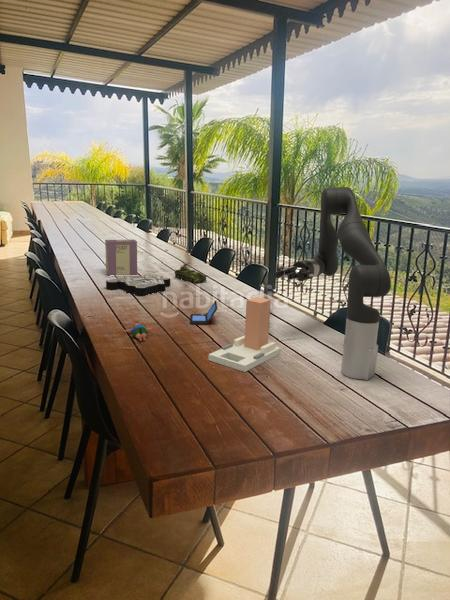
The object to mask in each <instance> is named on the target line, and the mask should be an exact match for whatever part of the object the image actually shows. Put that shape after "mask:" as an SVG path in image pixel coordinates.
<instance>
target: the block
mask: <svg viewBox="0 0 450 600" xmlns="http://www.w3.org/2000/svg"><path fill="white" fill-rule="evenodd" d="M271 304H272V302H271V299H268V298H263V297H258V296H255V297H252V298H249V299H246V305H245V306H246V307H245V325H244V335H245V340H244V347H247V348H251V349H254V350H260V347H262V346H264V345H266V344H268V343H269V332H270V330H269V329H270V316H271V315H270V314H271Z"/></svg>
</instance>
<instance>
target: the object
mask: <svg viewBox="0 0 450 600" xmlns="http://www.w3.org/2000/svg"><path fill="white" fill-rule="evenodd" d="M217 310H218V302H217V300H215V301H214V302H213V304H212V305H211V306H210V308H209V309H208V311H207V312H206V313H191V314H190V315H189V316H190V317H189V324H190V325H191V326H209V324H210V323H209V322H210V321H211V319H212V318H213V317H214V315H215V313H216V312H217Z"/></svg>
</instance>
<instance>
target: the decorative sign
mask: <svg viewBox="0 0 450 600" xmlns="http://www.w3.org/2000/svg"><path fill="white" fill-rule="evenodd" d="M169 286H170V287H171V278H164V277H163V276H162V275H157V274H152V275H151V274H144V275H137V276H122V277H118V278H112V279H107V280H105V289H107V291H118V290H121V289H122V290H121V291H123V292H125V291H126V292H125V293H126V294H128V293H130V294H129V295H134V294H135V295H134V296H135V297H146V295H147V296H149V295H148V294H150V295H153V294H152V293H154V294H157V292H158V293H165V292H166V288H170V287H169ZM117 289H118V290H117ZM159 291H160V292H159ZM164 291H165V292H164Z"/></svg>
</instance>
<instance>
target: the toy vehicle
mask: <svg viewBox="0 0 450 600" xmlns="http://www.w3.org/2000/svg"><path fill="white" fill-rule="evenodd" d="M188 264H190V262H188V263H185V264H183V265H182V266H180V268H179V269H175V270H174V277H175V278H176V279H177V278H178V279H177V280H181V279H182V280H181V281H185V282H186V281H188V282H187V283H190V282H191V284H192V282H193V283H201V282H207V277H208V276H207V275H205V274H203V273H202V272H199V271H196V270H195V269H190V268H188V267H187V266H188Z"/></svg>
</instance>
